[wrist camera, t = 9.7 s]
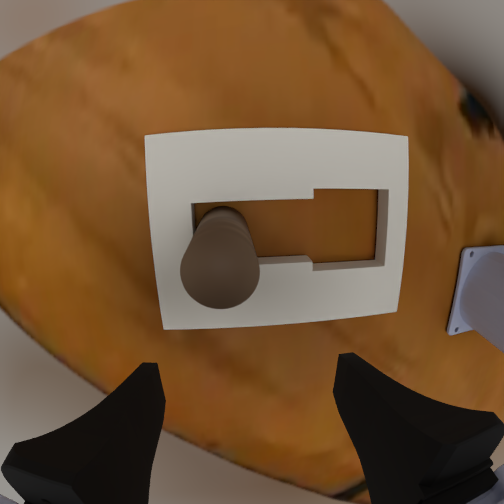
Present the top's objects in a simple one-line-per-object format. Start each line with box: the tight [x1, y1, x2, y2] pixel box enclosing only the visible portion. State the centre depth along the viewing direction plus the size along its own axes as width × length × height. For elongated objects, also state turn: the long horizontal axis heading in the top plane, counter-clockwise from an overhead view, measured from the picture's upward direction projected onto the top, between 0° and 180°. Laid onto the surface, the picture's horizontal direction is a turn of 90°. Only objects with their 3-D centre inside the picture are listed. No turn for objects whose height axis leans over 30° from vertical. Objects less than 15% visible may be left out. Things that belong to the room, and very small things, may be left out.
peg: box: [180, 206, 260, 309], centre depth 15 cm, size 3×3×8 cm
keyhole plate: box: [145, 128, 409, 330], centre depth 19 cm, size 16×12×2 cm
